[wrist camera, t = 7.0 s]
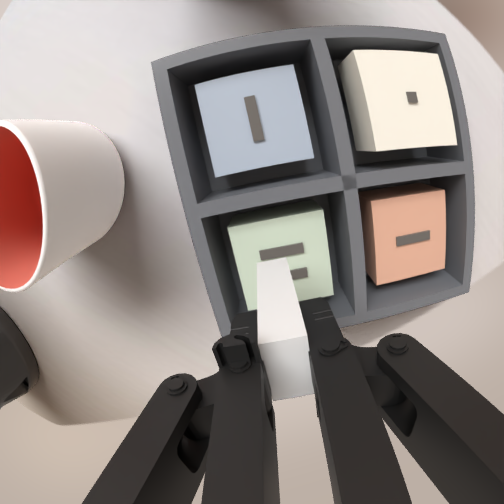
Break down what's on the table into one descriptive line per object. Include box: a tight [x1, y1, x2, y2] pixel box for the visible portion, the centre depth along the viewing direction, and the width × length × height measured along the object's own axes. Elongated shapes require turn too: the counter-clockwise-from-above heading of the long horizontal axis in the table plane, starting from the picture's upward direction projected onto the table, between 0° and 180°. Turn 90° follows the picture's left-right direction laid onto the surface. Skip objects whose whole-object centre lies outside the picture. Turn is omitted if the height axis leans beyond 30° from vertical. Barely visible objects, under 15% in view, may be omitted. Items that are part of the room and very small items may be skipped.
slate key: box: [195, 65, 314, 177], centre depth 16 cm, size 6×6×4 cm
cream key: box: [337, 50, 457, 151], centre depth 14 cm, size 6×6×4 cm
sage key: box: [228, 200, 334, 311], centre depth 19 cm, size 6×6×4 cm
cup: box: [0, 120, 125, 292], centre depth 15 cm, size 10×10×10 cm
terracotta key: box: [358, 183, 446, 285], centre depth 18 cm, size 6×6×4 cm
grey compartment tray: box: [151, 26, 475, 337], centre depth 17 cm, size 18×18×5 cm
